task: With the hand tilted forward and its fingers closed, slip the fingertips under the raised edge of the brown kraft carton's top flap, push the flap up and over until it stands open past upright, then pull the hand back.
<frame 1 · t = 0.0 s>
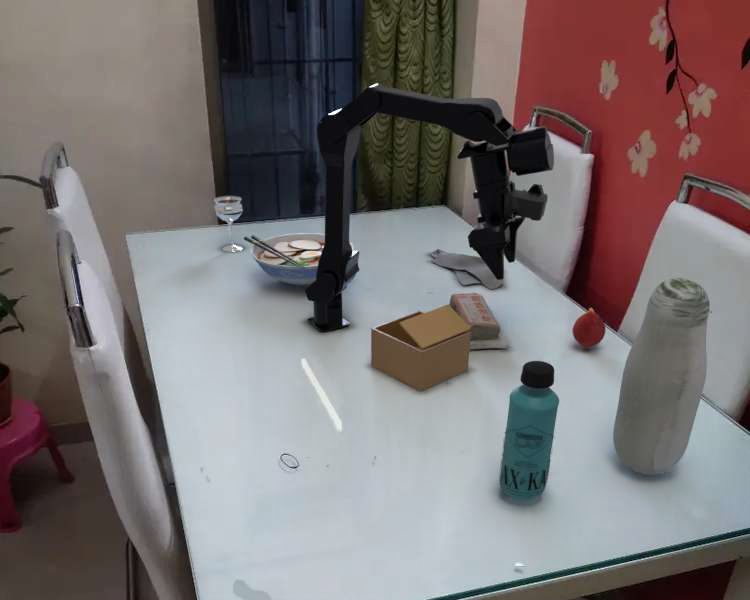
hand: (506, 270, 138), 15 cm above the table, tool pointing down, fingers open, 9 cm apart
cloth: (471, 270, 183), on the table
packaged product: (472, 332, 154), on the table
wineglass: (232, 249, 195), on the table
ramen bowl: (304, 281, 177), on the table
beverage bottle: (521, 496, 108), on the table
flap: (435, 326, 133), point 9 cm above the table, hinge at 25.0°
carton: (419, 368, 140), on the table
onion: (585, 349, 147), on the table
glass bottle: (642, 467, 114), on the table
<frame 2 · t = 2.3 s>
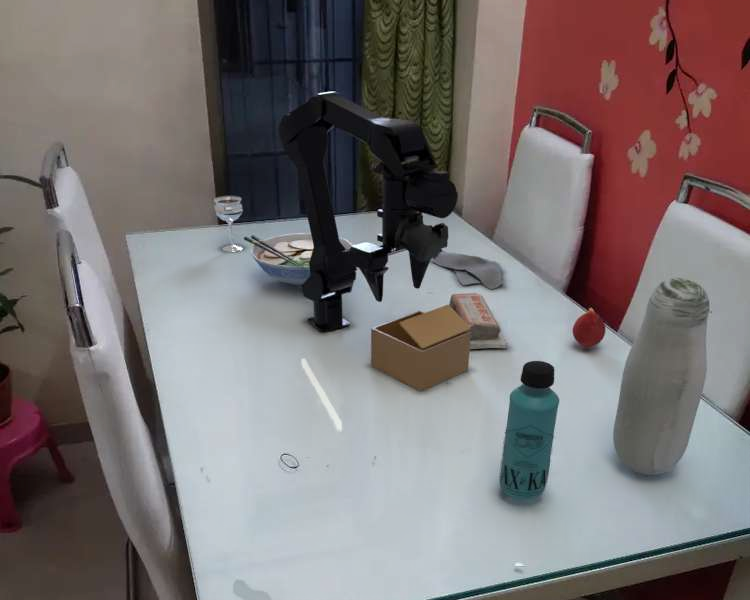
hand: (398, 294, 138), 12 cm above the table, tool pointing down, fingers open, 9 cm apart
nothing on the table moved.
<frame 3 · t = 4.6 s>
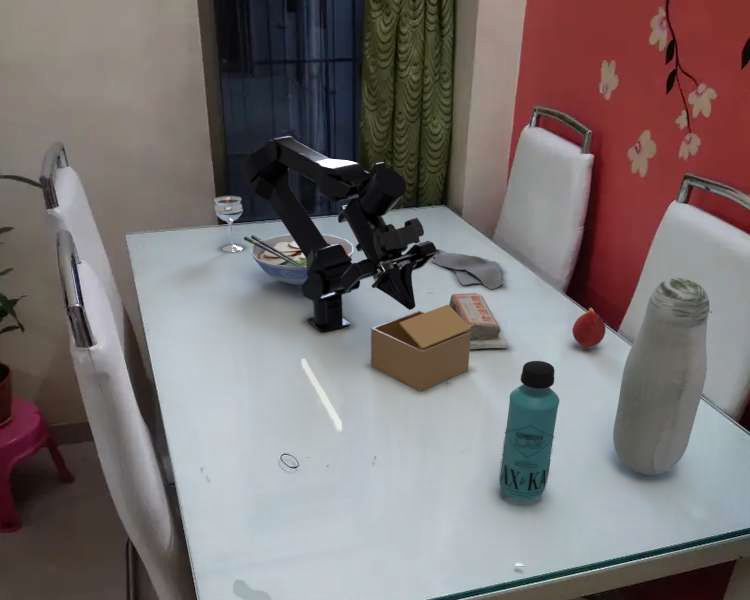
hand: (412, 308, 136), 11 cm above the table, tool tilted 45°, fingers closed
nothing on the table moved.
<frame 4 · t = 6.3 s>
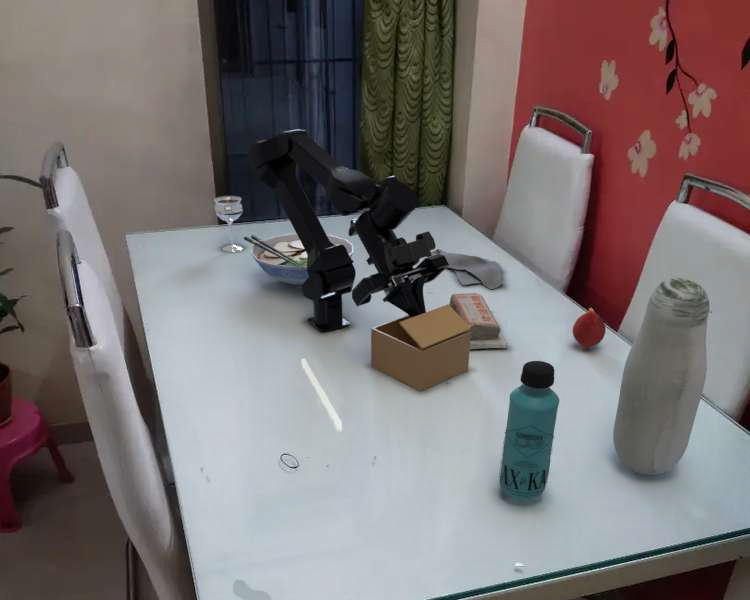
hand: (424, 322, 135), 9 cm above the table, tool tilted 45°, fingers closed, pressing on flap
flap: (435, 325, 133), point 9 cm above the table, hinge at 25.5°, touching gripper
everything else where it was.
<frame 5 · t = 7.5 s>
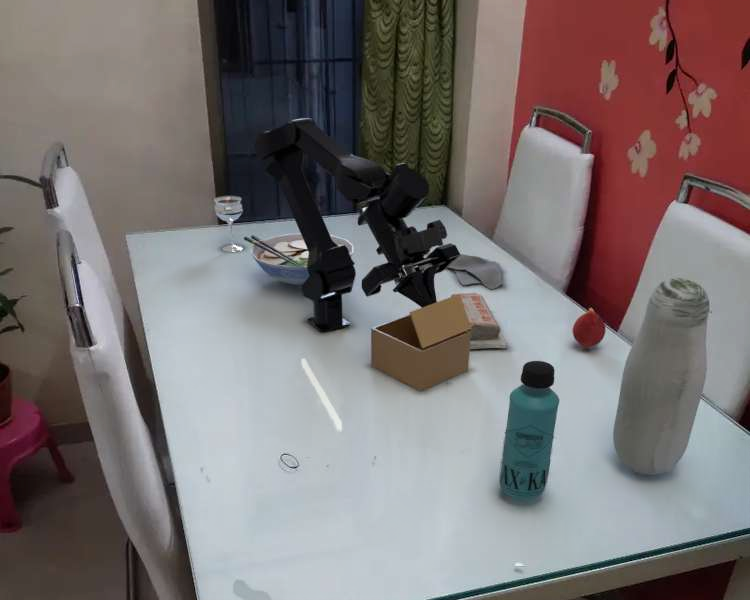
hand: (435, 313, 132), 12 cm above the table, tool tilted 45°, fingers closed, pressing on flap
flap: (441, 320, 131), point 11 cm above the table, hinge at 59.4°, touching gripper
everything else where it was.
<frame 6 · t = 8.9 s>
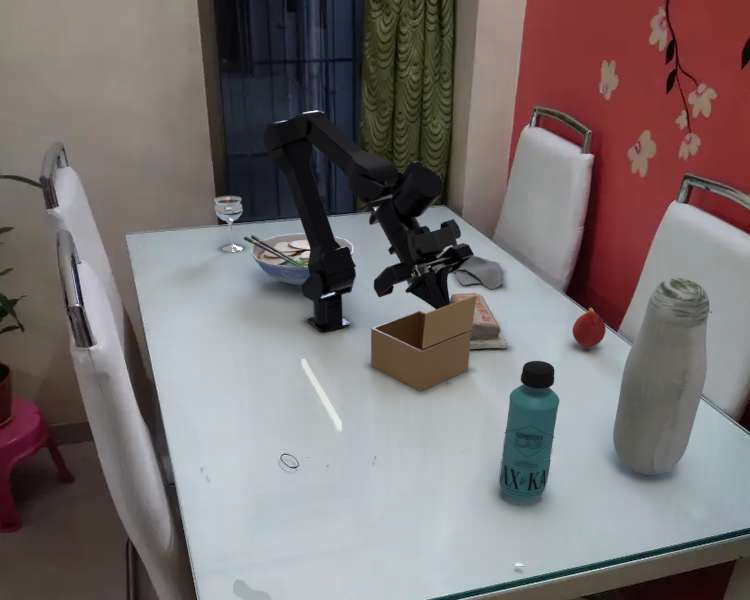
hand: (448, 314, 130), 12 cm above the table, tool tilted 45°, fingers closed, pressing on flap
flap: (449, 321, 130), point 11 cm above the table, hinge at 94.5°, touching gripper
everything else where it was.
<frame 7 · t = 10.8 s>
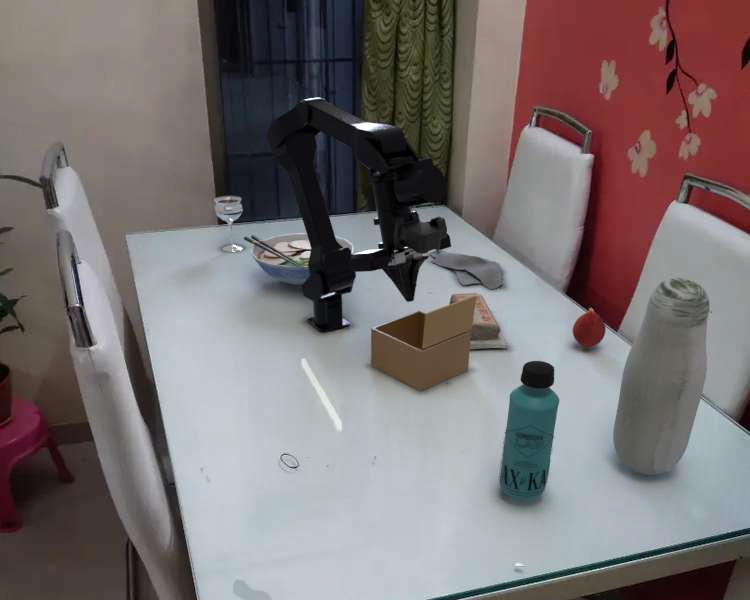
hand: (410, 301, 136), 12 cm above the table, tool tilted 15°, fingers closed
flap: (449, 321, 130), point 11 cm above the table, hinge at 94.5°
everything else where it was.
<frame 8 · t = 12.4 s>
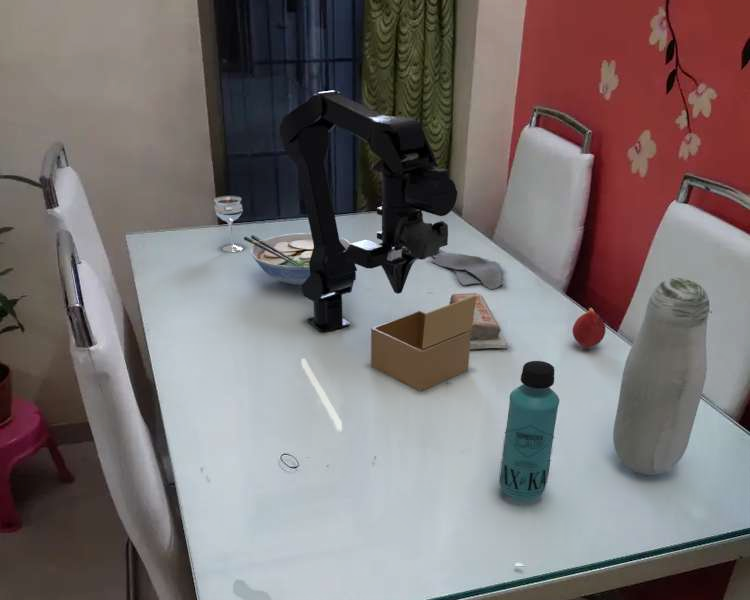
hand: (397, 292, 137), 13 cm above the table, tool pointing down, fingers closed
nothing on the table moved.
at the end: flap at +94° (first picture: +25°) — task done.
